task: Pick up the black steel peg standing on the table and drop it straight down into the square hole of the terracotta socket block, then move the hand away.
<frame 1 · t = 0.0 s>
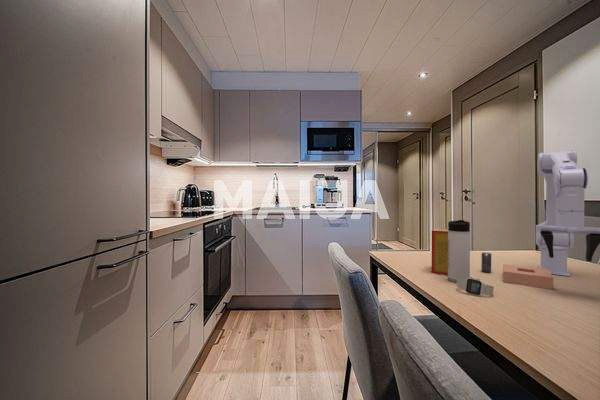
hand: (569, 259, 78), 10 cm above the table, tool pointing down, fingers open, 7 cm apart
wristwatch: (474, 293, 80), on the table
travel mug: (458, 281, 91), on the table
baking soda box: (443, 272, 102), on the table
peg: (486, 272, 101), on the table
socket block: (525, 280, 91), on the table
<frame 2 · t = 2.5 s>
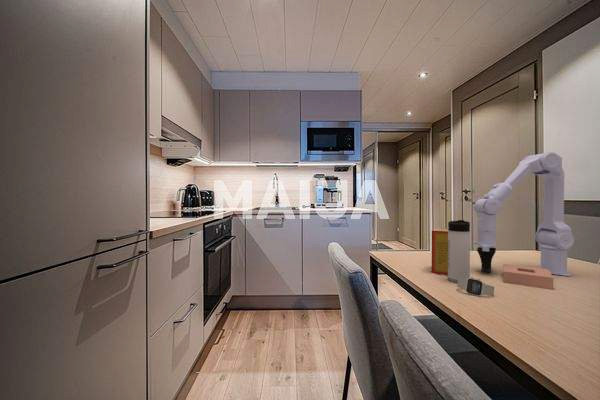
hand: (486, 267, 101), 2 cm above the table, tool pointing down, fingers closed on peg, 3 cm apart
peg: (486, 272, 101), on the table, touching gripper
everything else where it was.
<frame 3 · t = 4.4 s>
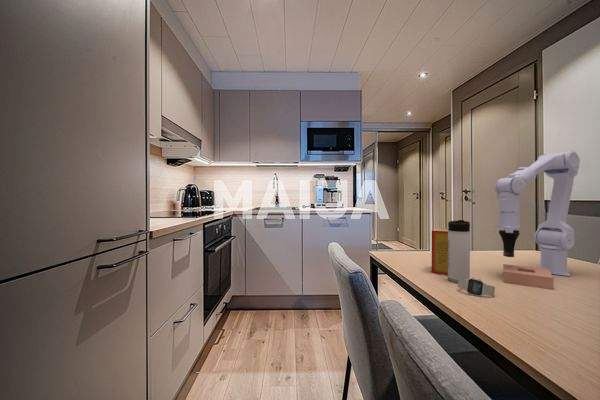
hand: (508, 251, 95), 9 cm above the table, tool pointing down, fingers closed on peg, 3 cm apart
peg: (508, 256, 95), point 7 cm above the table, touching gripper
everything else where it was.
when the fingers open (4 cm above the table, at t = 6.0 s): peg drops 3 cm, resting in socket block.
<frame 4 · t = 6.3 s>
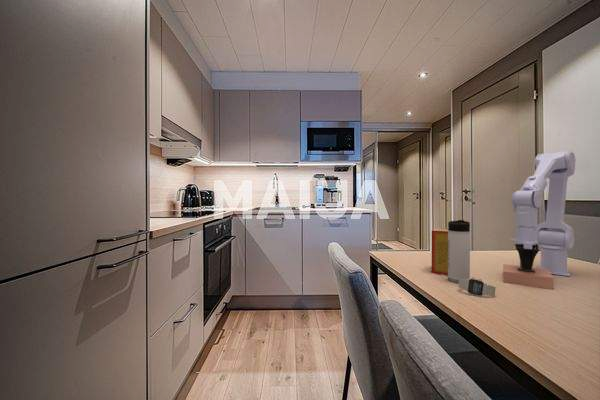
hand: (526, 267, 91), 4 cm above the table, tool pointing down, fingers open, 6 cm apart
peg: (525, 280, 91), resting in socket block
everything else where it was.
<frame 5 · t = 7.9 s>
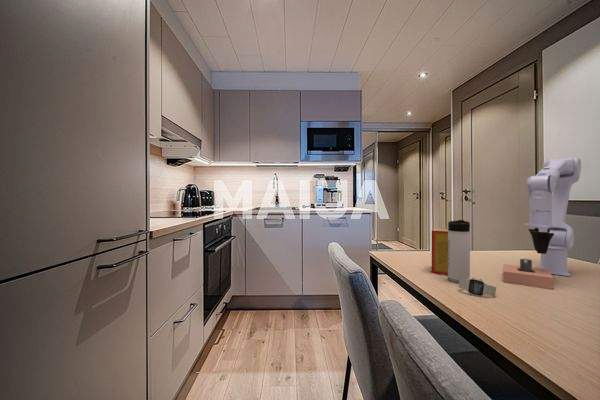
hand: (540, 251, 92), 9 cm above the table, tool pointing down, fingers open, 7 cm apart
nothing on the table moved.
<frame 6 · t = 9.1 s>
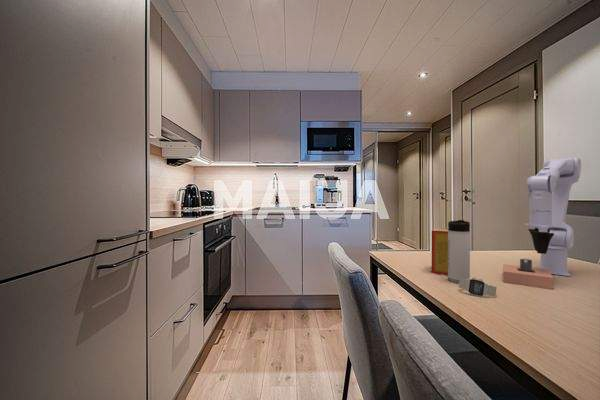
hand: (540, 251, 92), 9 cm above the table, tool pointing down, fingers open, 7 cm apart
nothing on the table moved.
at the end: peg 0.0 cm off-centre on the socket block, point 0.0 cm above the socket block's base; peg tilted 0°; the gripper is holding nothing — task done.
